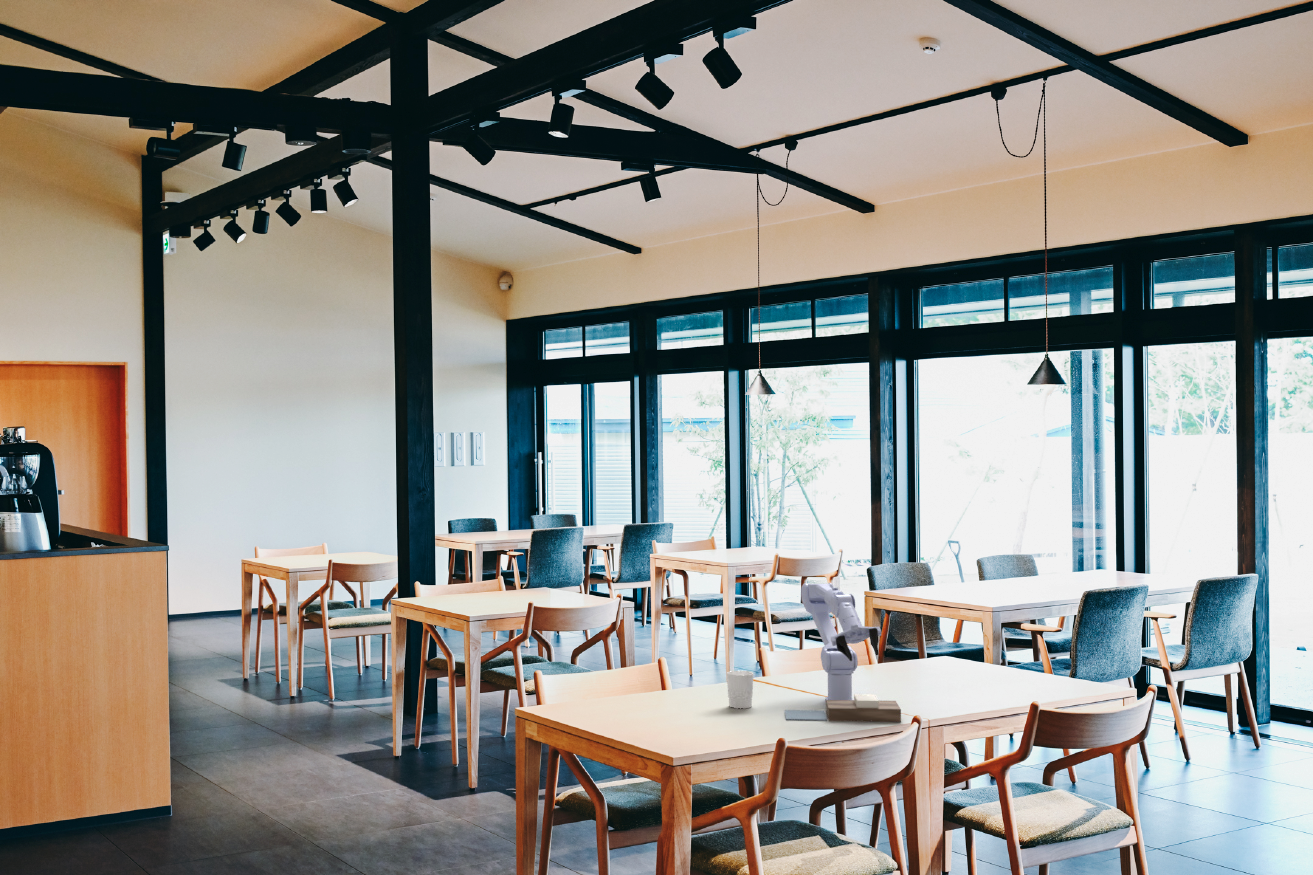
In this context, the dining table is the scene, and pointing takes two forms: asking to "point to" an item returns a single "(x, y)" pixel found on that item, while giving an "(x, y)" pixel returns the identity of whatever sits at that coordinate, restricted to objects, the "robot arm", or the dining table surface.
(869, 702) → the cream tile
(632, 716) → the dining table surface
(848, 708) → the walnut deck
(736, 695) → the white cup
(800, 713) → the slate mat
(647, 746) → the dining table surface
